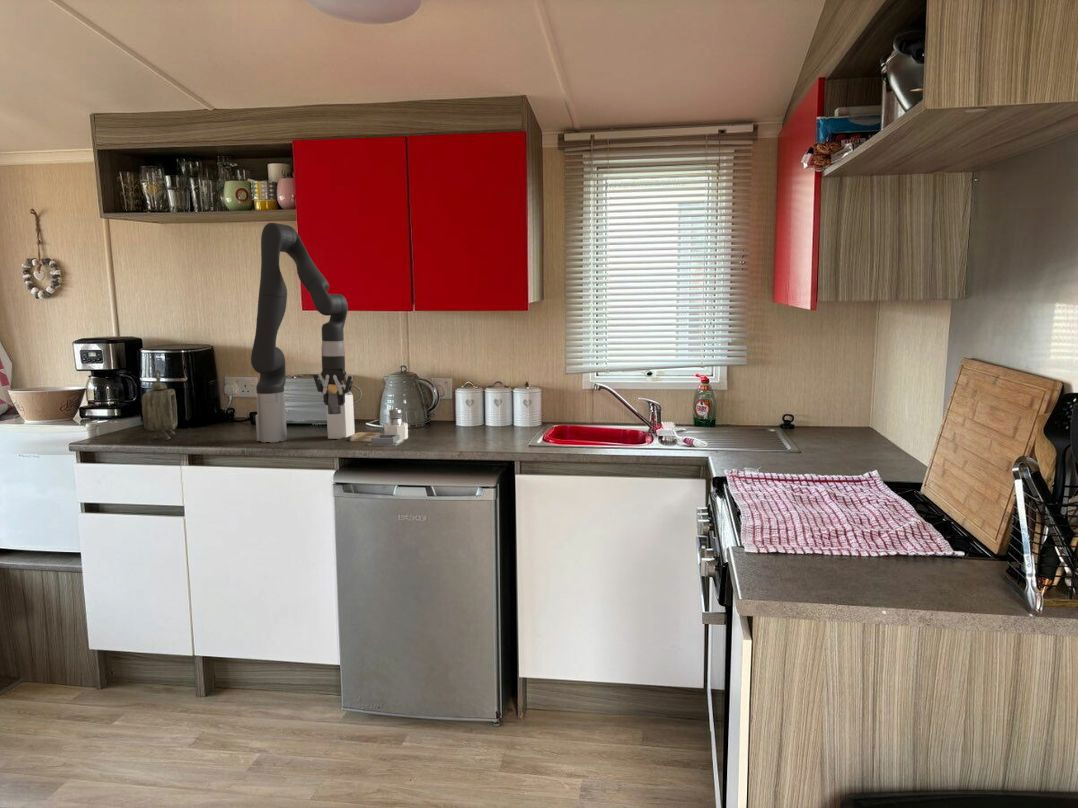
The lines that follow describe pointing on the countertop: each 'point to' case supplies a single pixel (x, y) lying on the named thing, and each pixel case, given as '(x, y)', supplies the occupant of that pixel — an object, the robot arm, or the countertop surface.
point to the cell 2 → (395, 417)
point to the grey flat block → (385, 440)
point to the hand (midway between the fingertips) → (334, 404)
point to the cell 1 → (333, 399)
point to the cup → (397, 430)
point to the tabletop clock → (159, 408)
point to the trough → (362, 436)
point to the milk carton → (342, 420)
